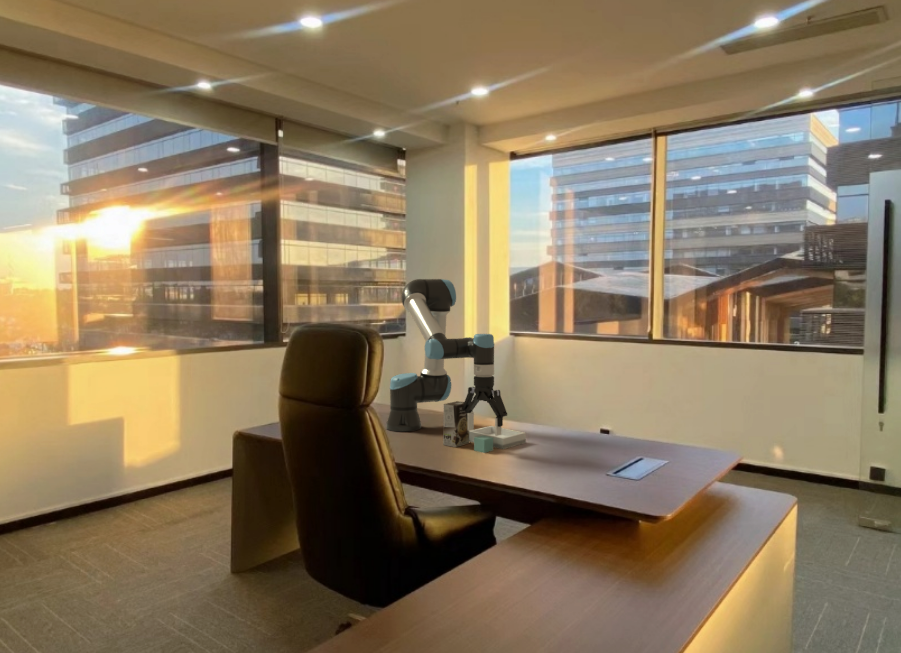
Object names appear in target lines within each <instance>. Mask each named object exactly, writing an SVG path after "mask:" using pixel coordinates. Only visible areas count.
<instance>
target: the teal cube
mask: <svg viewBox="0 0 901 653" xmlns="http://www.w3.org/2000/svg"><path fill="white" fill-rule="evenodd" d="M473 450H474V452H478V453H483V454H486V453H490V452H494V447H493V437H488V436H484V435H482V436H478V437H474V442H473ZM489 451H490V452H489Z"/></svg>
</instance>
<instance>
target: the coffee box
mask: <svg viewBox="0 0 901 653" xmlns="http://www.w3.org/2000/svg"><path fill="white" fill-rule="evenodd" d="M464 402H465V401H458V400H457V401H453V402H447V403H444V404H443V428H442V430H443V432H442V433H443V438H442V439H443V440H442V441H443V443H442V445H443V446H448V447H452V448H458V447H460V446H463V445H468V444H470V442H469V431H470V430H469V431H468V426H467V420H466V411H463V410H462V407H463V404H464Z"/></svg>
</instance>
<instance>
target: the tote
mask: <svg viewBox="0 0 901 653" xmlns="http://www.w3.org/2000/svg"><path fill="white" fill-rule="evenodd" d="M482 435H484V436H488V437H493V448H495V449H496V448H497V449H501V450H505V449H509V448H513V447H516V446H519V445H522V444H526V443H527V432H524V431H519V430H513V429H509V428H504V427H501V435H498V436H495V425H490V426H485V427H480V428H474V430H469V443H470V442H471V443H474V437H478V436H482Z"/></svg>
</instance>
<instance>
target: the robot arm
mask: <svg viewBox="0 0 901 653" xmlns="http://www.w3.org/2000/svg"><path fill="white" fill-rule="evenodd" d="M400 297H401V298H400V299H401V303H402V306H403V307H404V310H405V311H406V312H408V313H409V314H410V316H411V317H412V319H413V321H414V322H415V324H416V326H417V328H418V330H419V331H420V334H421V335H422V336H423V339H424V340H425V343H424V361H423V362H424V365H423V367H422V369H420V375H418V374H417V373H416V372H407V373H400V374H397V375H394V376H392V377H391V379H390V384H389V397H390V398H389V407H390V408H389V414H388V416H387V421H386V424H385V427H386V428H387V429H386V430H388V431H392V432H413V431H418V430H421V429H422V421H421V420H420V419H421V417H420V414H419V412H418V404H423V403H432V402H433V403H434V402H435V403H438V402H442V401H446V400H447V399H448V398H449V396H450V394H451V391H452V380H451V377H450V375H448V372H447V370H446V369H445V368H444V367H445V360H446V359H447V360H448V359H449V360H450V359H451V360H452V359H469V358H470V359H471V358H472V359H473V375H474V376H473V386H470V387H468V388H467V394H466V397H465V399H464V401H463V402H464V404H463V407H462V410H463V411H466V420H467V426H468V431H471V430H475V425H474V424H475V418H474V417H475V416H474V415H475V414H474V413H475V412H474V409H475V408H476V407H477V404H478V403H479V402H480V401H483V402H487V403H488V404H489V406H490V408H491V409H492V411H493V413H494V415H495V416H496V417H494V427H495V436H498V435H501V428H502V427H503V426H504V424H503V420H504V419H503V418H504V417H508V412H507V409H506V407H505V405H504V404H505V403H504V401H503V399H502V396H501V395H502V393H501V390H500V389H495V390H494V386H495V377H494V375H495V342H494V340H495V338H494V334H492V333H475V334H473V335H474V336H473V337H463V338H462V337H461V338H460V337H459V338H447V336H446V330H447V329H446V326H447V315H448V314H449V313H451V307H454V306H455V304H456V302H457V292H456V287H455V286H454V283H453V282H452V281H451V280H449V279H443V278H425V279H424V278H415V279H412V280H411V281H409V282H408V283H407V284H405V286H404V287H403V289H402V293H401V296H400Z"/></svg>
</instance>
